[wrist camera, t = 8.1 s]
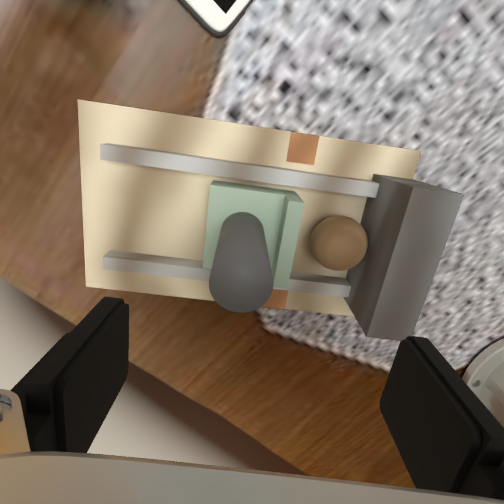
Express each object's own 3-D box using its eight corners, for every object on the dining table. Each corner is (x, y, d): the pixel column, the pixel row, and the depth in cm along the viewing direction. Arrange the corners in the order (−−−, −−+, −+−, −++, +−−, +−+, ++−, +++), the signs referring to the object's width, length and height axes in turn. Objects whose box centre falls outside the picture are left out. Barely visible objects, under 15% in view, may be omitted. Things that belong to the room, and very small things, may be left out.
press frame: (411, 150, 25) (477, 158, 18) (363, 309, 29) (400, 365, 22) (87, 101, 23) (18, 88, 16) (94, 278, 28) (43, 328, 21)
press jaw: (295, 191, 24) (329, 232, 14) (281, 265, 26) (302, 345, 16) (213, 180, 23) (192, 214, 14) (206, 256, 25) (182, 333, 16)
